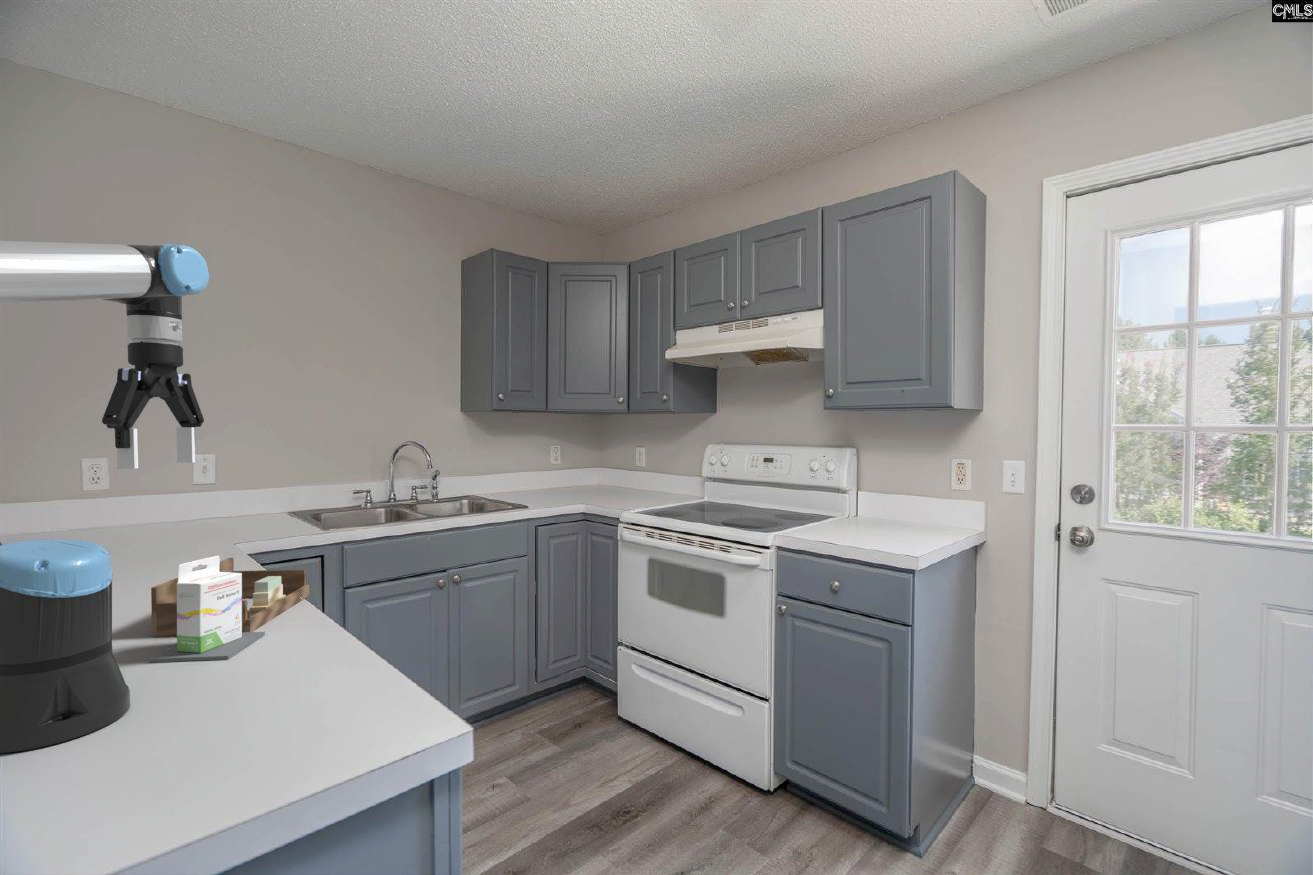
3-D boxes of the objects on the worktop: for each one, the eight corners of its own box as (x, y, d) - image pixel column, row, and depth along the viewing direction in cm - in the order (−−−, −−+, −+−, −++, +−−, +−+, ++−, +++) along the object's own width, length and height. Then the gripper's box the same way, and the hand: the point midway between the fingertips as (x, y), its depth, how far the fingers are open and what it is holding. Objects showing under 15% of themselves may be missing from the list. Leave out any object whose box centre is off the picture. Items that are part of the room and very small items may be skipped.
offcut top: (267, 592, 125) (267, 582, 125) (254, 592, 125) (254, 582, 125) (281, 585, 130) (281, 576, 130) (268, 585, 130) (268, 576, 130)
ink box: (200, 654, 104) (199, 566, 103) (175, 652, 104) (174, 564, 104) (244, 636, 112) (243, 555, 112) (221, 635, 113) (219, 554, 113)
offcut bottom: (266, 622, 123) (265, 607, 123) (249, 622, 123) (249, 607, 123) (285, 608, 132) (285, 594, 132) (270, 609, 132) (270, 595, 132)
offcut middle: (268, 605, 124) (268, 593, 124) (253, 606, 124) (252, 593, 124) (282, 595, 131) (282, 584, 131) (268, 596, 131) (268, 584, 131)
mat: (228, 659, 103) (228, 655, 103) (149, 662, 101) (149, 659, 101) (264, 634, 115) (264, 631, 115) (194, 637, 113) (194, 634, 113)
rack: (250, 633, 116) (249, 585, 116) (152, 636, 114) (151, 587, 114) (309, 595, 141) (309, 556, 141) (230, 597, 139) (229, 557, 139)
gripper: (120, 333, 96) (123, 471, 96) (224, 351, 121) (226, 460, 121) (69, 333, 95) (73, 471, 96) (184, 350, 120) (186, 460, 121)
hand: (158, 465), depth 109 cm, fingers open, 13 cm apart
